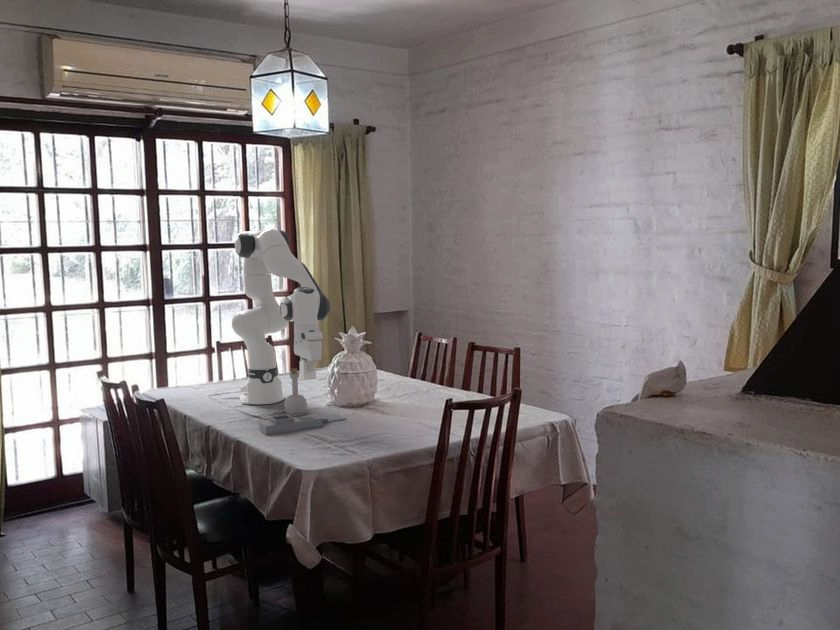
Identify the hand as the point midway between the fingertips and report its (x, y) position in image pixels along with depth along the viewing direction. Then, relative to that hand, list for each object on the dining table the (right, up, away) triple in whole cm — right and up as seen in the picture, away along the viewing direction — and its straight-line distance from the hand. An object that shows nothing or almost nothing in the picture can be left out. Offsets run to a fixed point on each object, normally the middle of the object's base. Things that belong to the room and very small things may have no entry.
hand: (307, 370), depth 287 cm
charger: (0, -3, 0) cm, 3 cm away
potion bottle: (-7, -18, +17) cm, 26 cm away
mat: (+6, -19, +8) cm, 21 cm away
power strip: (-3, -20, -5) cm, 21 cm away
